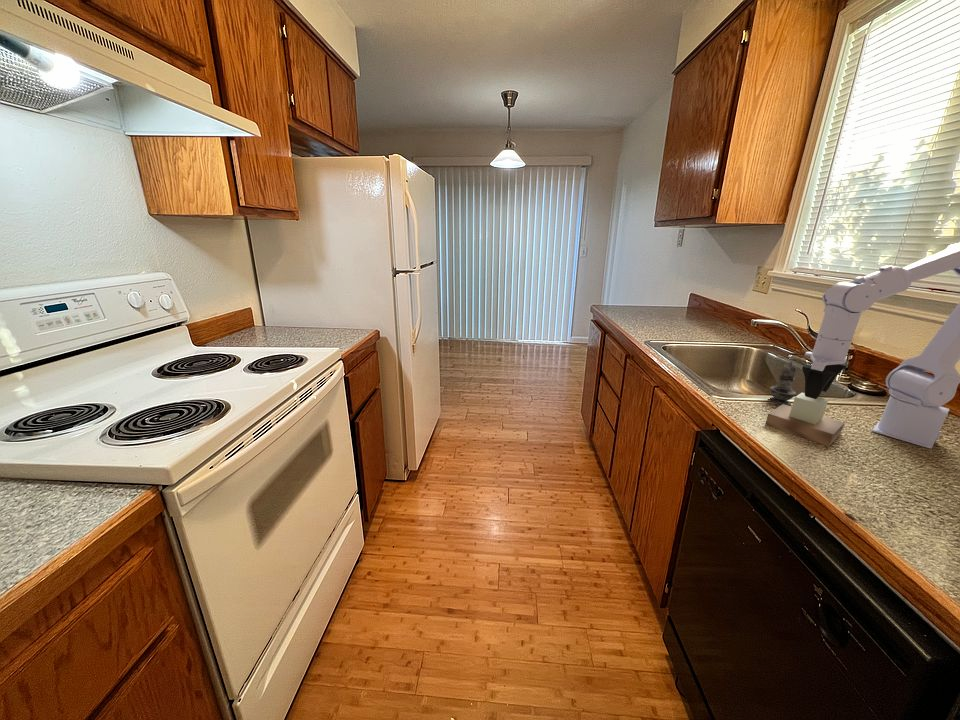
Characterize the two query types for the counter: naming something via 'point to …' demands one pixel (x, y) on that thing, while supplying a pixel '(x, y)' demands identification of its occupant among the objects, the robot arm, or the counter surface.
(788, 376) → the grey stone chess piece
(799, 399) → the sage block
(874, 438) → the counter surface
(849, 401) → the counter surface
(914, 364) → the robot arm
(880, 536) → the counter surface
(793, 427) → the walnut block
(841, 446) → the counter surface
